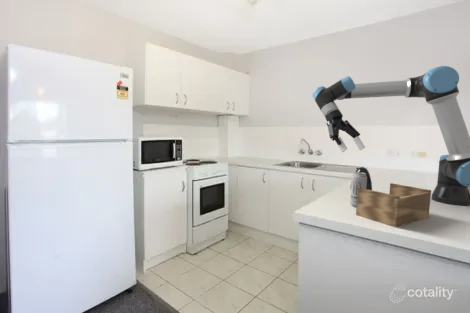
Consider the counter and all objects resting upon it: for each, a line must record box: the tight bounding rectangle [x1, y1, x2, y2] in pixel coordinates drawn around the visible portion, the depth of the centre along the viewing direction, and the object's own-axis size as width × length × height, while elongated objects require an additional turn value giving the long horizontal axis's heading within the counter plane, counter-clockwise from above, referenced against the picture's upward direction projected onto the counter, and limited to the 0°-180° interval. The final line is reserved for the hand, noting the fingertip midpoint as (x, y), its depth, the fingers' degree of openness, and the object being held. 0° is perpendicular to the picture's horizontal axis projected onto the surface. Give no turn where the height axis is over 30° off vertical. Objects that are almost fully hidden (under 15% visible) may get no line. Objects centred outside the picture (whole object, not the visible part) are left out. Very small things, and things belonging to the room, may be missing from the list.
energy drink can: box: [349, 171, 367, 208], centre depth 113 cm, size 6×6×15 cm
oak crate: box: [355, 182, 432, 228], centre depth 100 cm, size 15×24×11 cm, turn 120°
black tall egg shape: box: [349, 166, 373, 191], centre depth 133 cm, size 10×10×15 cm
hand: (354, 149), depth 118 cm, fingers open, 13 cm apart
